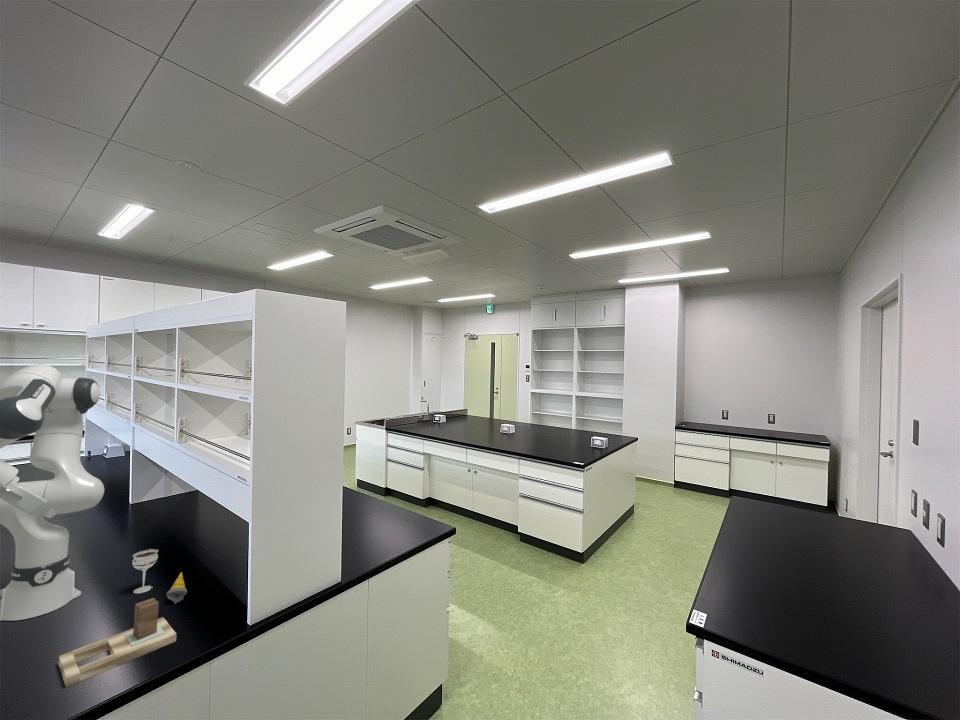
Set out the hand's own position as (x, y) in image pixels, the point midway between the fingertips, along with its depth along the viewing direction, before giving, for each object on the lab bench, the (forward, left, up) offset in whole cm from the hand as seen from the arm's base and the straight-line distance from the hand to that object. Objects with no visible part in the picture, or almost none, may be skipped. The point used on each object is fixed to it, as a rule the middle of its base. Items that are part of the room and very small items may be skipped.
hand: (46, 511), depth 100 cm
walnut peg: (+11, +19, -35) cm, 42 cm away
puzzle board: (+11, +14, -37) cm, 42 cm away
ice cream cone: (-8, +31, -38) cm, 50 cm away
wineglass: (-23, +26, -38) cm, 51 cm away
